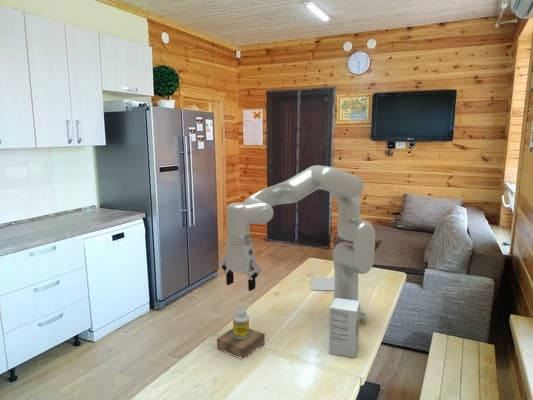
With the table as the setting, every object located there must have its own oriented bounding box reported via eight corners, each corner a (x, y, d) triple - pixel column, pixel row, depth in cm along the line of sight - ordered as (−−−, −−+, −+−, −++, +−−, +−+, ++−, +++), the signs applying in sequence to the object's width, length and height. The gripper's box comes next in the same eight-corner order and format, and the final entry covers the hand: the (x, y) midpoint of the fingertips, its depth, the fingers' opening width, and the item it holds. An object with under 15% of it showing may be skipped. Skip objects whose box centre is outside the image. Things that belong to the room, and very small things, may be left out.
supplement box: (355, 359, 129) (357, 311, 126) (328, 354, 132) (329, 307, 129) (359, 344, 138) (360, 300, 135) (333, 340, 141) (334, 296, 138)
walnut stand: (264, 344, 138) (264, 333, 138) (244, 360, 129) (243, 349, 128) (238, 334, 145) (238, 324, 145) (217, 349, 136) (216, 338, 135)
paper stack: (356, 279, 200) (356, 278, 200) (363, 299, 176) (363, 298, 176) (311, 278, 203) (311, 277, 202) (311, 298, 178) (311, 296, 178)
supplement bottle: (247, 331, 140) (246, 305, 138) (250, 338, 135) (250, 312, 133) (232, 333, 138) (231, 307, 137) (235, 340, 133) (234, 314, 132)
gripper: (266, 240, 129) (267, 288, 132) (226, 233, 138) (228, 278, 141) (252, 245, 123) (254, 296, 125) (212, 238, 132) (215, 285, 135)
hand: (240, 286), depth 133 cm, fingers open, 9 cm apart
